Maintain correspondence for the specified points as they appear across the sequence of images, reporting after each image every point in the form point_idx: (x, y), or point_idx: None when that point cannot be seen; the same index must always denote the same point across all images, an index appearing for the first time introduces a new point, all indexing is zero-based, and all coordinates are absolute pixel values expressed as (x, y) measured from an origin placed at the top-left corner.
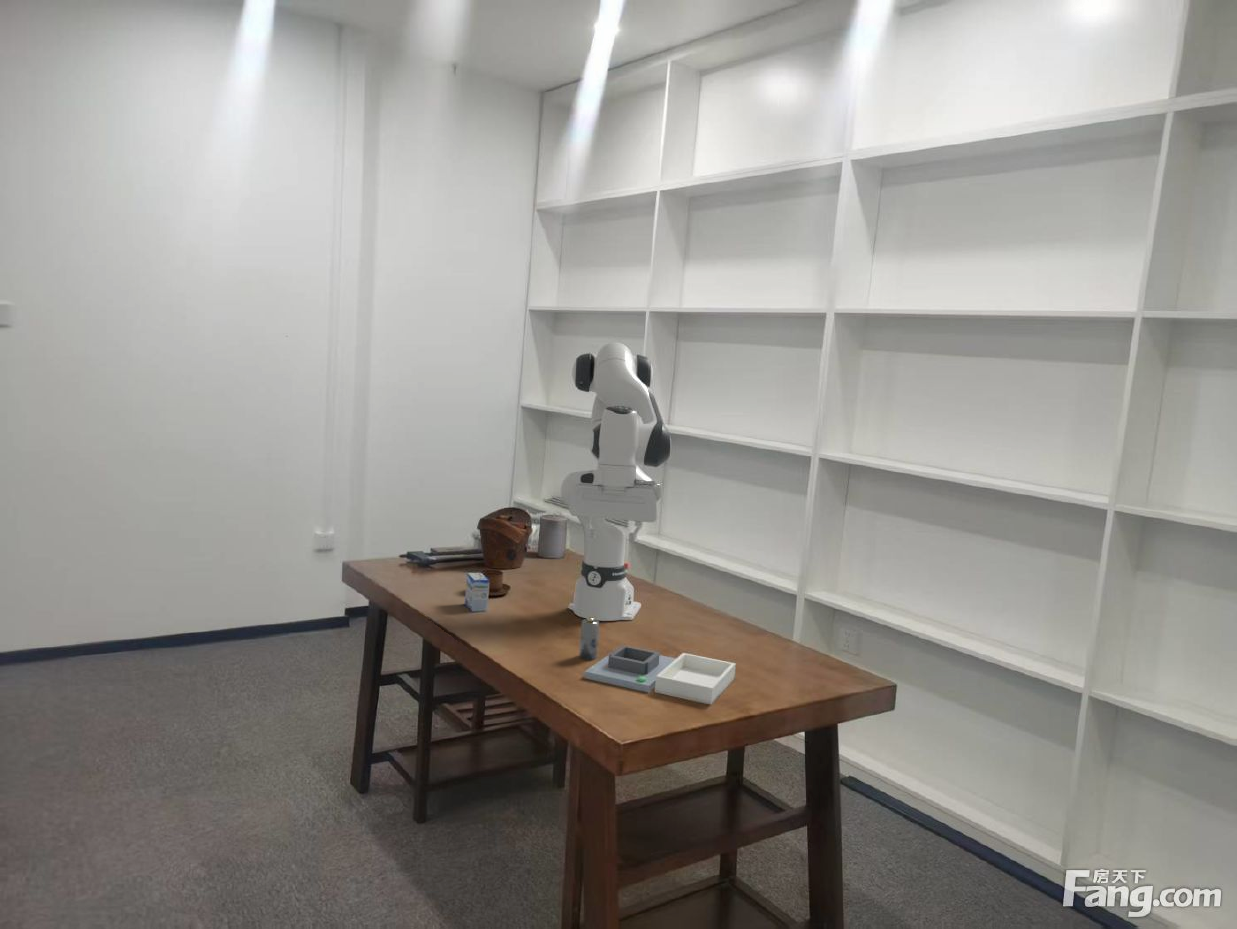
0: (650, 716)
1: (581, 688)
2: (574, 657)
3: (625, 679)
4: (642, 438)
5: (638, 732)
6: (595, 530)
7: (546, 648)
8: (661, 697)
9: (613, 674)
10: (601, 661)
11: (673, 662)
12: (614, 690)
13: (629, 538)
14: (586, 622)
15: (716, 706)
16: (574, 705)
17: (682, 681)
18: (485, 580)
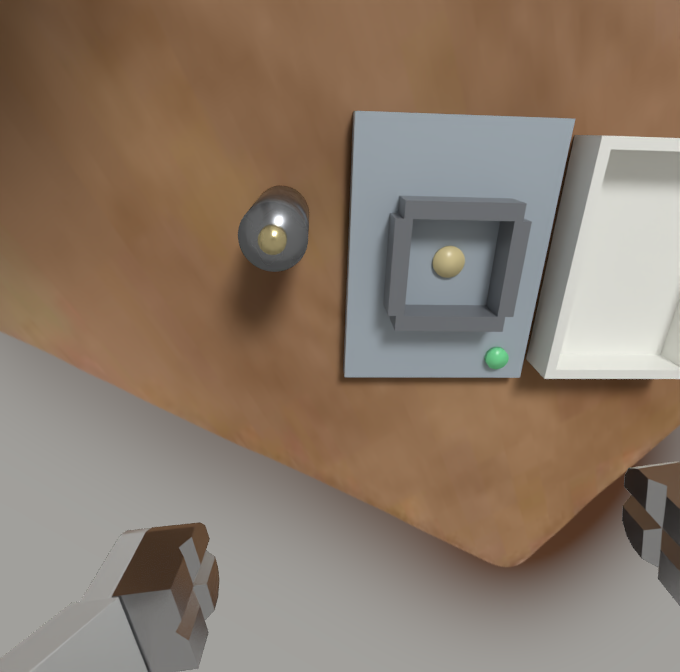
0: (538, 472)
1: (363, 423)
2: None
3: (456, 371)
4: None
5: (529, 534)
6: (183, 614)
7: (133, 211)
8: None
9: (418, 357)
10: (355, 286)
11: (578, 251)
12: (435, 396)
13: (648, 557)
14: (265, 258)
15: None
16: (386, 499)
17: (614, 377)
18: None
